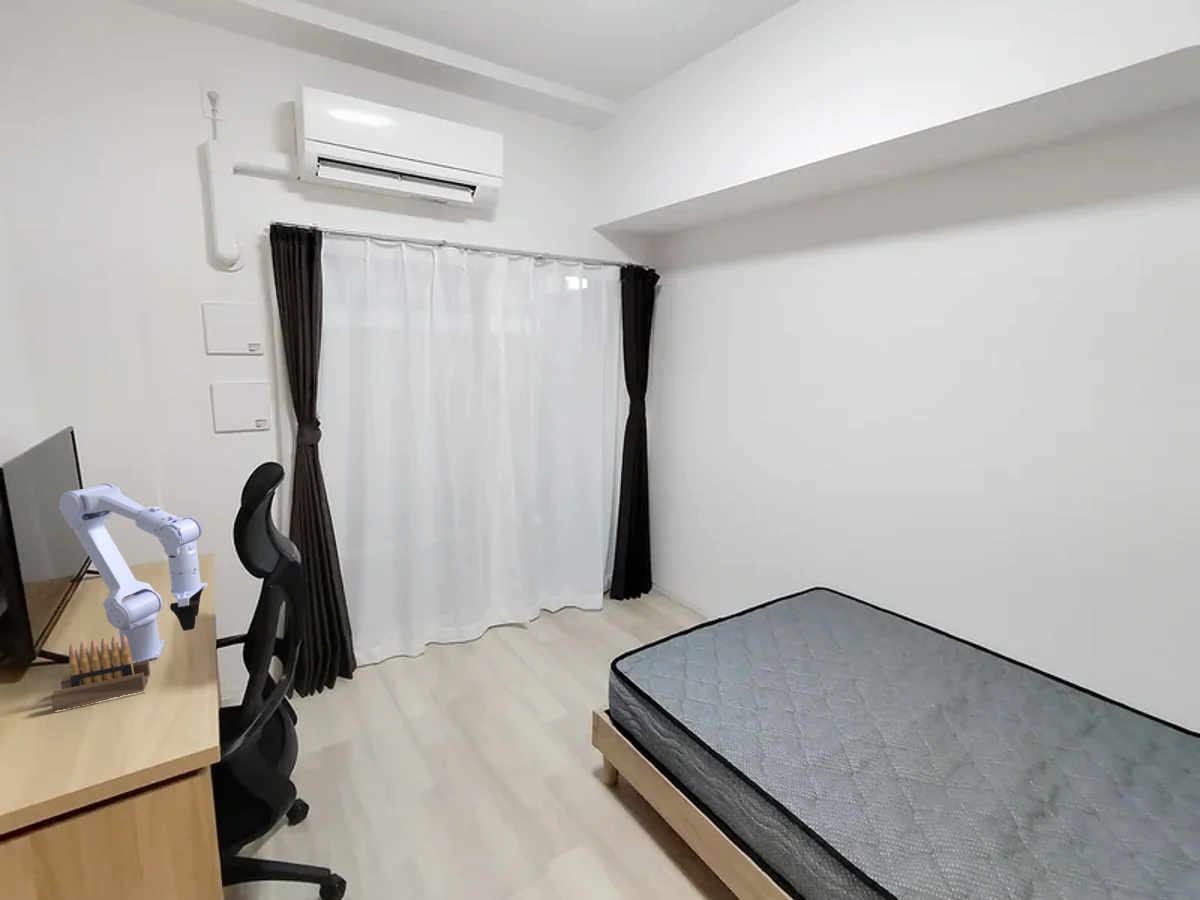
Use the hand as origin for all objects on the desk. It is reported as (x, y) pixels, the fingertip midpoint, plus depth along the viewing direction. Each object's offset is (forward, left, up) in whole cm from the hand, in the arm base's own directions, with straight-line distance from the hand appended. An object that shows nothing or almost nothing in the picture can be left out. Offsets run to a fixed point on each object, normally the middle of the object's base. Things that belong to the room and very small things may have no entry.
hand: (190, 622), depth 138 cm
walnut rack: (+6, -16, -10) cm, 20 cm away
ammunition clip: (+6, -16, -10) cm, 20 cm away
